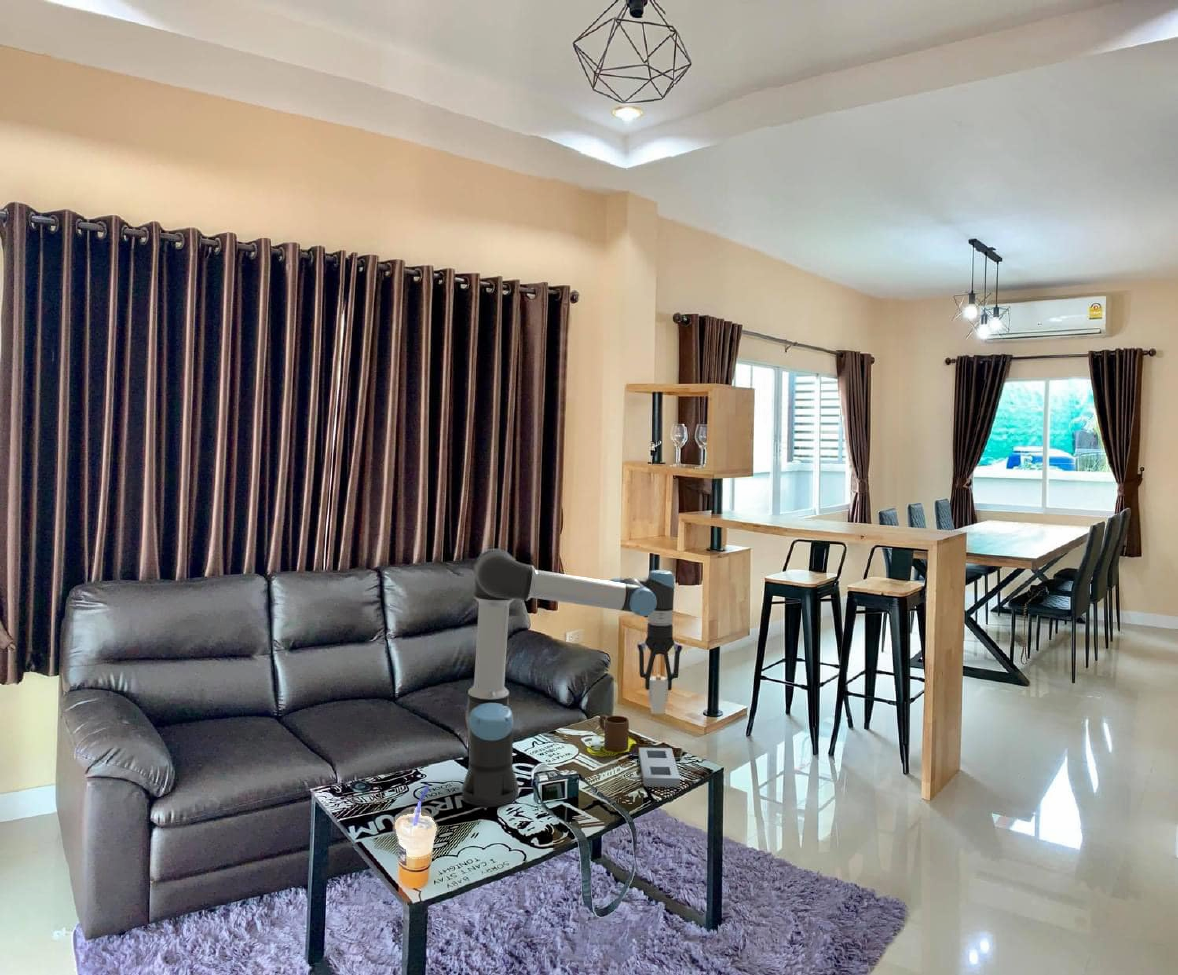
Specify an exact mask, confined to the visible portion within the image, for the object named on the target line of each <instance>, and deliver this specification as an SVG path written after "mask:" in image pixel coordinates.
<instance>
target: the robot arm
mask: <svg viewBox="0 0 1178 975" xmlns="http://www.w3.org/2000/svg"><path fill="white" fill-rule="evenodd" d="M473 572H474V591H473V592H474V594H473V597H474V599H475V600H476V601H477V602H478V612H477V613H478V614H477V615H478V616H477V629H476V630H477V631H476V648H475V663H474V680H473V686H471V687H470V688H469V689H468V691H467V693H468V694H467V704H466V708H465V714H464V717H465V722H466V726H467V731H468V732H467V733H468V739H469V740H468V743H469V744H468V746H469V747H468V748H469V749H468V753H469V754H468V769H467V773H466V775H465V778H464V780H463V783H462V788H461V797H462V799H463V800H464V802H466V803H467V804H469V805H472V806H476V807H482V808H494V807H495V808H496V807H501V806H505V805H508V804H511V803H512V802H514V801H516V799H517V798H518V796H519V784H518V780H517V777H516V774H515V770H514V768H513V752H514V751H513V750H514V749H513V747H514V746H513V744H514V743H513V742H514V741H513V738H514V737H513V736H514V733H513V732H514V726H515V722H514V714H513V712H512V710H511V709H510V707H509V703H510V702H509V701H510V700H509V699H510V691H509V690H508V689H507V687H505V680H506V662H507V646H508V645H507V644H508V631H509V630H508V629H509V618H510V605H511V603H512V602H513V601H514V600H520V601H525V602H528V601H529V600H531V598H533V599H540V600H546V601H553V602H561V603H567V604H574V605H581V606H589V607H594V608H595V607H596V608H602V609H609V610H614V611H615V610H617V611H622V612H628V613H633V614H635V615H636V616H638V617H639V616H640V617H647V621H648V623H647V625H646V626H647V627H646V628H647V630H646V631H647V632H646V638H645V640H644V641H643V642H637V644H636V646H637V650H638V656H639V658H638V663H639V665H638V667H639V668H638V669H639V670H638V671H639V674H638V675H639V677H640V678H643V679H644V681H645V682H644V683H645V684H644V687H645V690H646V691H648V702H649V703H651V702H652V678H651V676H652V670H653V666H654V663H655V659H656V656H657V655H660V656H661V655H662V656H663V659H664V665H665V671H666V677H665V679H666V697H665V703H668V698H669V691H672V688H673V687H672V683H673V680H674V679H678V678H679V672H680V671H679V670H680V669H679V668H680V657H681V656H680V654H681V652H682V650H683V645H682V643H677V642H675V640H674V638H673V635H674V634H673V633H674V625H673V622H674V600H675V599H674V598H675V575H674V573H673V572H672V571H670V570H664V569H655V570H650V571H649V573H648V576H647V577H635V578H634V577H628V578H627V577H624V578H623V577H618V578H611V579H609V580H603V579H597V578H593V577H592V578H590V577H586V576H579V575H572V574H565V573H558V572H552V571H546V570H540V569H536V568H535V567H534V565H532V564H526V563H522V562H519V561H517V560H515V558H514V557H513V556H512V555H511V554H510V553H509V552H507V550H504V549H499V548H492V549H487V550H485V551H483V552H482V553H480V555H479V556H478V557H477V559H476V561H475V563H474V566H473ZM646 647H647V648H648V650H649V651H650V654H649V658H648V663H647V665H646V666H647V667H646V670H645V654H644V653H645V652H644V651H645V650H646ZM672 647H673V648H672ZM671 649H673V650H674V659H673V672H672V670H671V665H670V658H669V652H670V650H671ZM645 671H646V672H645Z"/></svg>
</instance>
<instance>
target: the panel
mask: <svg viewBox="0 0 1178 975" xmlns="http://www.w3.org/2000/svg"><path fill="white" fill-rule="evenodd" d="M638 760H639V766H640V771H641V778H642V783H643V787H649V788H650V787H653V788H655V787H658V788H665V787H666V788H680V787H681V777H680V773H679V771H678V766H677V762H676V759H675V756H674V752H673V749H672V747H638Z"/></svg>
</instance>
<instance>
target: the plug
mask: <svg viewBox="0 0 1178 975" xmlns="http://www.w3.org/2000/svg"><path fill="white" fill-rule="evenodd" d="M655 675H656V676H652V675H651V676H650V678H652V702H650V713H651V715H652V714H654V715H655V714H656V715H657V714H658V715H665V714H666V702H665V697H666V679H665V678H666V677H665V676H661V674H660V673H659V674H655Z"/></svg>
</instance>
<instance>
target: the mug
mask: <svg viewBox="0 0 1178 975" xmlns="http://www.w3.org/2000/svg"><path fill="white" fill-rule="evenodd" d="M629 721H630V720H629V719H628V718H627V717H626V716H623V715H610V716H608V715H606V714H601V715H600V716H599V718H598V724H599V728H600V729H601V730H602V731H603V732H604V734H603V735H604V742H603V744H604V745H603V747H604V749H606V750H607V751H609V752H613V753H615V752H616V753H618V752H625V751H626V750H628V749H629V740H630V739H629V736H630V722H629Z"/></svg>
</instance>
